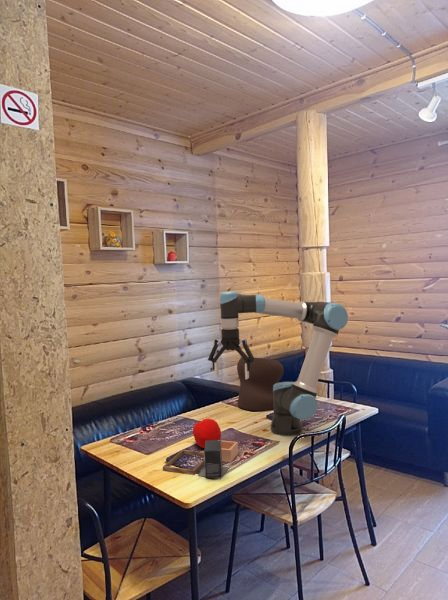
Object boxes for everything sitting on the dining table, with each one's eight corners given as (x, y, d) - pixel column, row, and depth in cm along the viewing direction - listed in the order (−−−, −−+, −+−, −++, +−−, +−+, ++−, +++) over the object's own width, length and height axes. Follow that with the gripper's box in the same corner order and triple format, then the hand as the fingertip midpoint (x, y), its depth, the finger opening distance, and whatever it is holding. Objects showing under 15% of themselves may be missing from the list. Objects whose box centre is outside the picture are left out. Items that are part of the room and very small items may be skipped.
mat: (228, 468, 172) (228, 467, 172) (220, 479, 164) (220, 478, 164) (207, 466, 175) (207, 465, 175) (197, 476, 167) (197, 475, 167)
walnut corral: (211, 456, 185) (211, 453, 185) (194, 474, 168) (194, 471, 168) (182, 453, 189) (182, 449, 189) (162, 470, 173) (162, 466, 173)
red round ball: (216, 456, 192) (206, 446, 204) (230, 430, 194) (219, 421, 206) (192, 445, 188) (183, 435, 200) (206, 417, 190) (197, 410, 202)
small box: (206, 465, 175) (204, 439, 174) (222, 465, 175) (221, 439, 174) (204, 478, 164) (203, 450, 164) (222, 477, 164) (221, 449, 164)
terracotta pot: (238, 453, 187) (237, 442, 186) (231, 462, 178) (230, 450, 178) (218, 451, 190) (217, 440, 189) (210, 459, 181) (210, 447, 181)
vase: (287, 411, 241) (285, 356, 240) (238, 412, 242) (236, 358, 240) (281, 397, 268) (280, 348, 266) (237, 399, 268) (235, 350, 267)
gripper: (260, 327, 186) (262, 377, 187) (206, 326, 195) (208, 374, 196) (255, 329, 179) (257, 381, 180) (199, 329, 188) (201, 378, 189)
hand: (231, 377), depth 188 cm, fingers open, 13 cm apart
